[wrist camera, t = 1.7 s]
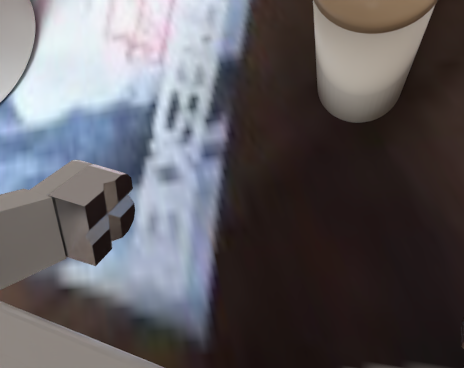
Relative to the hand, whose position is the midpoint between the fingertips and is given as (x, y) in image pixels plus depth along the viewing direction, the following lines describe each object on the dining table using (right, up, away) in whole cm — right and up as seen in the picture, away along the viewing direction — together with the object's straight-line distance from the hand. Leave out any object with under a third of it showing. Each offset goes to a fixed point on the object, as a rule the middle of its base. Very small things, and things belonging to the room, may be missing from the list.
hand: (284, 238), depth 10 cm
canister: (+7, +8, +17) cm, 20 cm away
